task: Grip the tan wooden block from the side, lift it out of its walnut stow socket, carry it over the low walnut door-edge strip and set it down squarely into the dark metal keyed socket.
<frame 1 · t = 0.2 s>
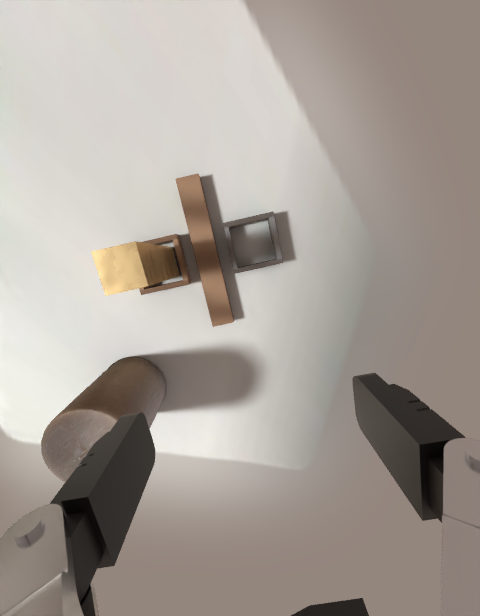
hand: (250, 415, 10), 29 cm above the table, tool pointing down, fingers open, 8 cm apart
tan wooden block: (162, 264, 37), resting in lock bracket
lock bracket: (207, 254, 37), on the table
pillar candle: (136, 386, 41), on the table
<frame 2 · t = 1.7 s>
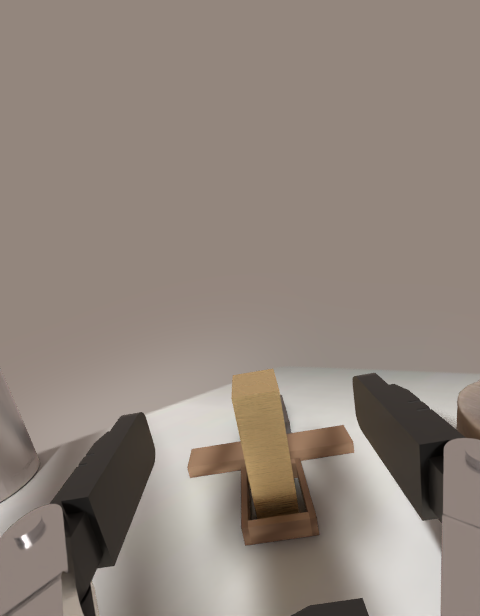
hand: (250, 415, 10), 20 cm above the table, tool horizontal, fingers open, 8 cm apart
tan wooden block: (276, 504, 27), resting in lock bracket
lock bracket: (269, 455, 33), on the table
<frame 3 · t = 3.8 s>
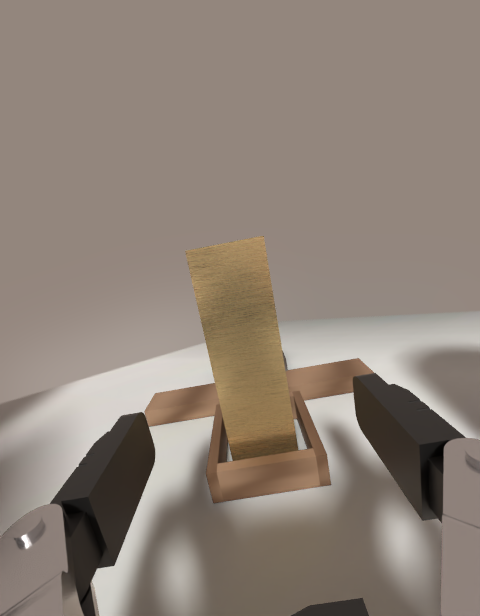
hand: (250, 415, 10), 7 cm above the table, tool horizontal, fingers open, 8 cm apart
tan wooden block: (265, 450, 18), resting in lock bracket
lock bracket: (259, 398, 25), on the table
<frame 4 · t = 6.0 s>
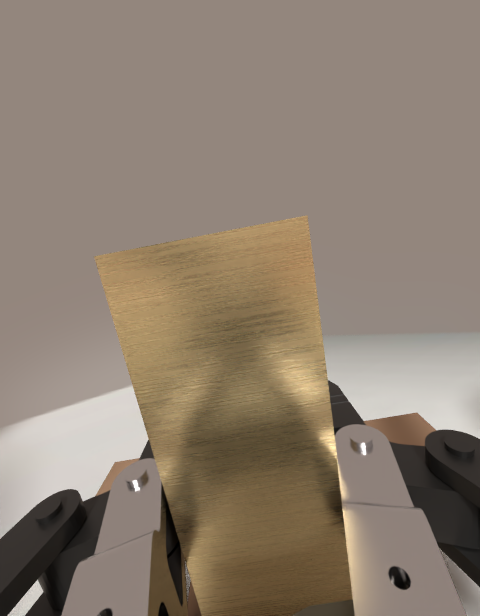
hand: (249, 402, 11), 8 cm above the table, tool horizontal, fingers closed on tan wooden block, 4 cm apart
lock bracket: (269, 476, 16), on the table
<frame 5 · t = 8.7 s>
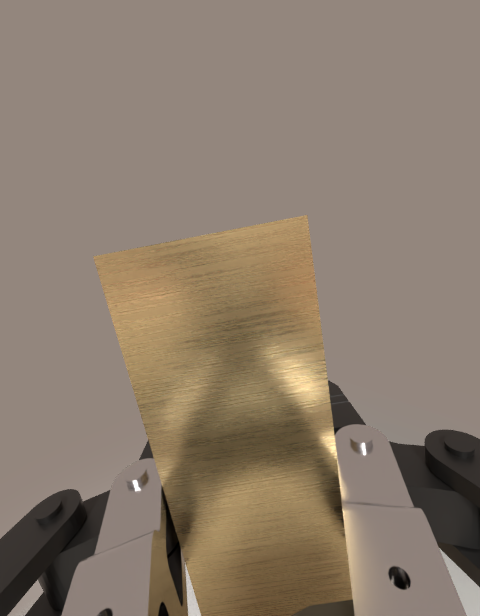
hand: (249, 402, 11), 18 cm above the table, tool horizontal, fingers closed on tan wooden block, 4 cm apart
when the fingers open (9 cm above the table, at t = 11.3 s): tan wooden block drops 1 cm, resting in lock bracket.
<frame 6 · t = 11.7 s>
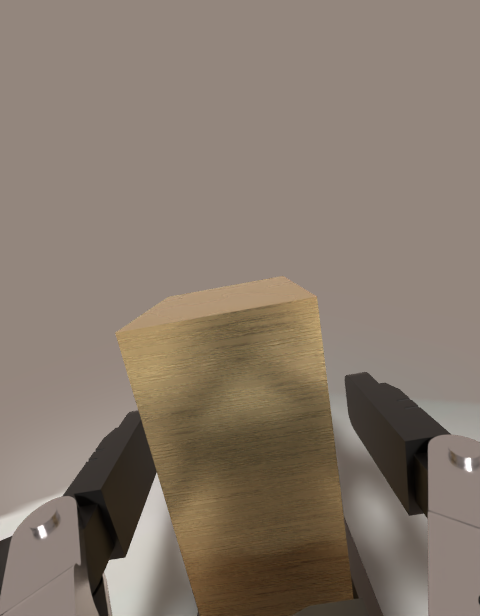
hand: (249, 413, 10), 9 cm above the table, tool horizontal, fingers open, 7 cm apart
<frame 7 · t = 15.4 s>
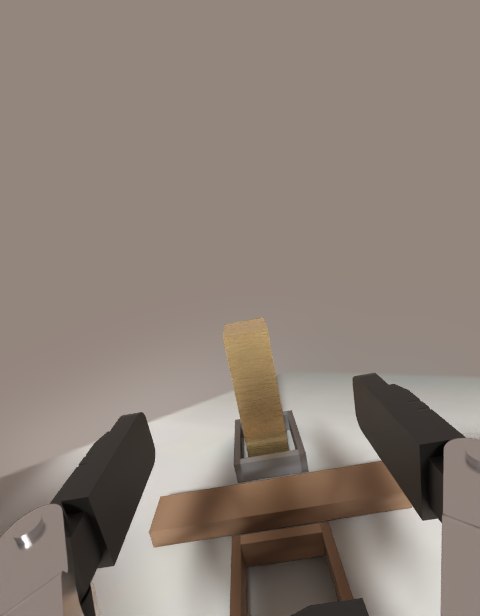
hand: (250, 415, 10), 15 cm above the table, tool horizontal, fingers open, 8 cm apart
tan wooden block: (269, 451, 28), resting in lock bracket
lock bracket: (277, 509, 22), on the table
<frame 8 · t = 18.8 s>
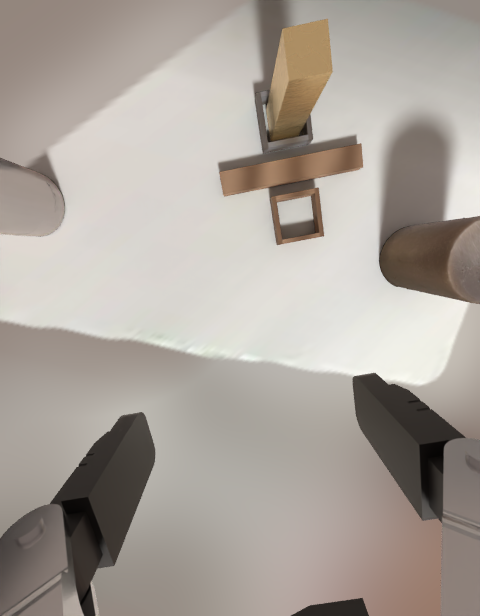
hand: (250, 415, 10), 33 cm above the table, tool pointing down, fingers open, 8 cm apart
tan wooden block: (282, 123, 37), resting in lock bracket
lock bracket: (289, 172, 39), on the table
pillar candle: (409, 256, 42), on the table
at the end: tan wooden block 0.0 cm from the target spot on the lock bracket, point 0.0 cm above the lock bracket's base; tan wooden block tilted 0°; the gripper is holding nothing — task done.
